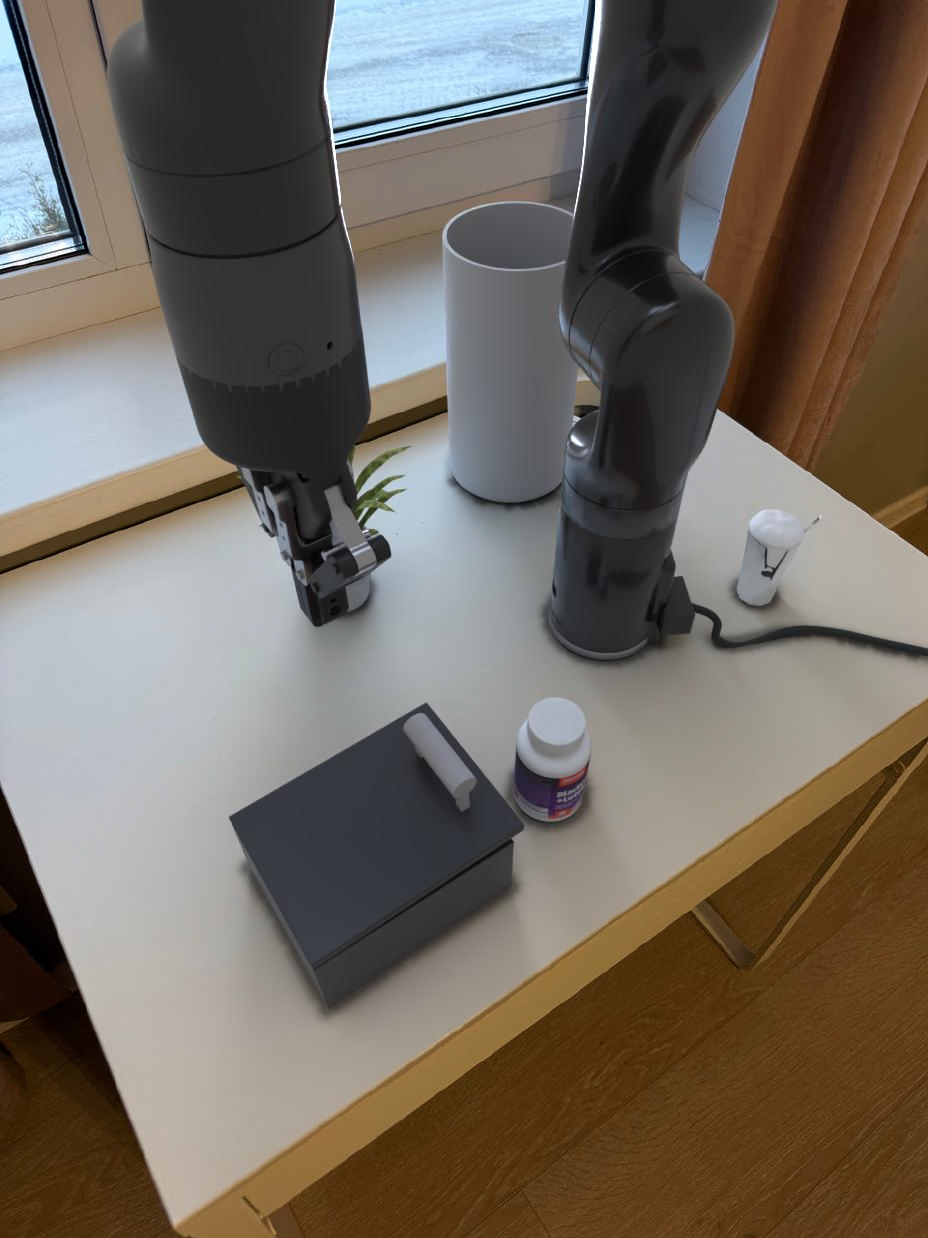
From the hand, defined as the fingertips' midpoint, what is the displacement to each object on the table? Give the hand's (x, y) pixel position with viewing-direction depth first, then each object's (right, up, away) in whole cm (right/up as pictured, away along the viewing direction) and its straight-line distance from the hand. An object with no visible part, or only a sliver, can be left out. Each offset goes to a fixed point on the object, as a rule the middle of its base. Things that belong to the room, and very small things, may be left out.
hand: (325, 612), depth 49 cm
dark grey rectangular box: (+1, -19, +16) cm, 25 cm away
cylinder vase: (+12, +16, +46) cm, 50 cm away
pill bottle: (+14, -14, +20) cm, 28 cm away
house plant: (-2, +2, +34) cm, 34 cm away
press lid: (+2, -14, +10) cm, 18 cm away
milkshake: (+35, +2, +34) cm, 48 cm away
